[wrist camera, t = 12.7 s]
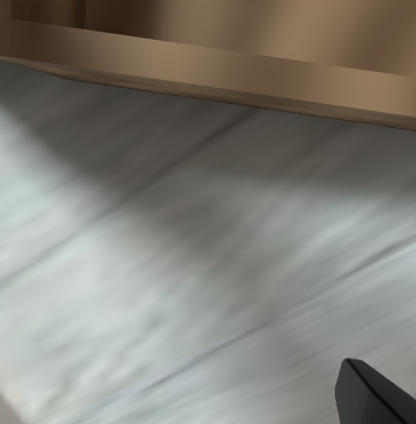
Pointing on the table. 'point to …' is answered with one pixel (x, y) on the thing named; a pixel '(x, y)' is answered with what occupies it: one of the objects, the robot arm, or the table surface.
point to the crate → (230, 51)
